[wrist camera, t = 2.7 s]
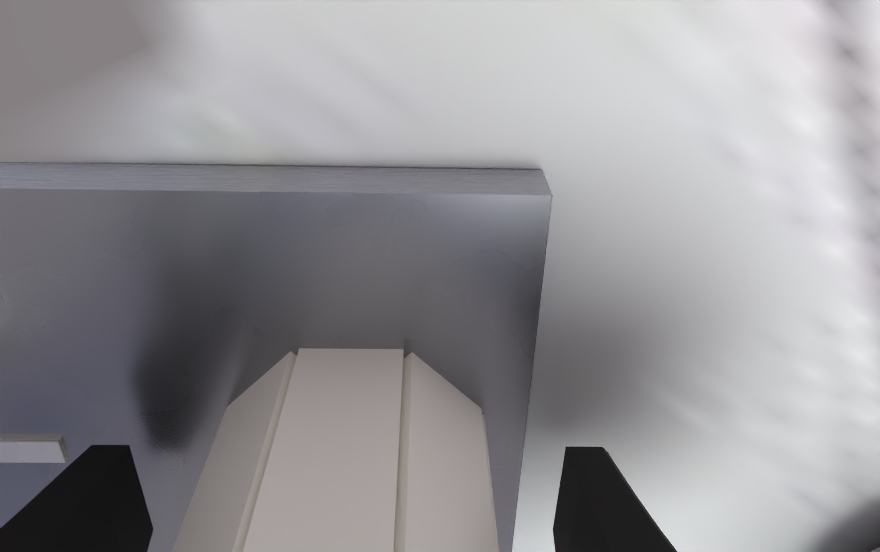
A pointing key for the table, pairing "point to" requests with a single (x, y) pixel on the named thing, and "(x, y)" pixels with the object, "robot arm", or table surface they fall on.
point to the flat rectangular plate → (250, 304)
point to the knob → (346, 462)
